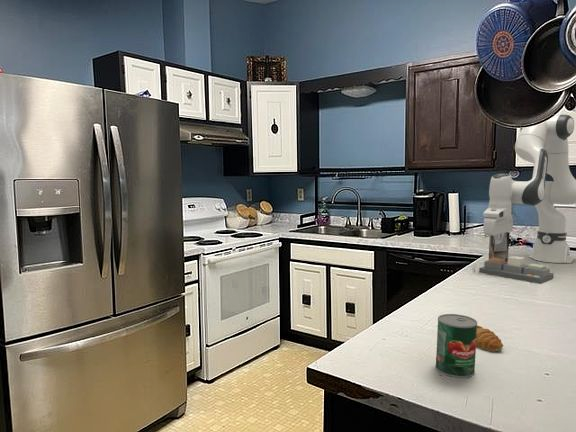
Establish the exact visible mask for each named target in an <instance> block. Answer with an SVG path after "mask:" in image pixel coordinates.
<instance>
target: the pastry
mask: <svg viewBox="0 0 576 432" xmlns="http://www.w3.org/2000/svg"><path fill="white" fill-rule="evenodd" d="M476 347H477V349H478V348H479V349H481V350H484V351H488V352H492V353H493V352H498V351H501V350H502V349H503V347H504V344H503V343H502V340H501V339H500V338H499V336H498V335H497V334H496V333H495V332H494V331H491V330H490V329H489V328H485V327H483V326H481V325H478V324H477V336H476Z"/></svg>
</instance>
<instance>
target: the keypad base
mask: <svg viewBox="0 0 576 432" xmlns="http://www.w3.org/2000/svg"><path fill="white" fill-rule="evenodd" d="M483 265H484V266H482V267H479V271H478V272H479V273H480V274H485V275H490V276H496V277H503V278H506V279H507V278H508V279H513V280H516V281H517V280H518V281H524V282H529V283H533V284H534V283H535V284H539V285H541V284H543V283H546V282H547V281H550V280H553V279H554V275H555V273H553V272H551V268H549V267H546V269H544V270H537V269H531V268H528V265H529V264H525V266H521V267H518V266H512V265H508V262H506V261H505V262H504V263H501V264H500V263H494V262H489V259H488V260H485V261H484V262H483Z"/></svg>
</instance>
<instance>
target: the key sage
mask: <svg viewBox="0 0 576 432" xmlns="http://www.w3.org/2000/svg"><path fill="white" fill-rule="evenodd" d="M527 265H528V268H531V269H537V270H544V269H546V268H547V267H546V266H547V265H545V264H537V263H530V264H527Z"/></svg>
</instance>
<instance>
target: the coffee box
mask: <svg viewBox="0 0 576 432" xmlns="http://www.w3.org/2000/svg"><path fill="white" fill-rule="evenodd" d="M510 232H511V231H510ZM510 232H506V233H504V236H503V239H502V243H501V244H495V239H494V235H493V236H489V242H488V243H489V245H488V260H489V259H490V258H500V259H505V261H506V262H508V257H509V249H510V248H509V247H510Z"/></svg>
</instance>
